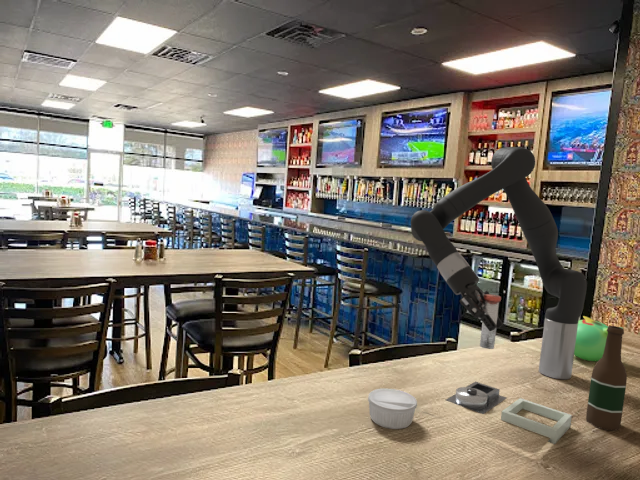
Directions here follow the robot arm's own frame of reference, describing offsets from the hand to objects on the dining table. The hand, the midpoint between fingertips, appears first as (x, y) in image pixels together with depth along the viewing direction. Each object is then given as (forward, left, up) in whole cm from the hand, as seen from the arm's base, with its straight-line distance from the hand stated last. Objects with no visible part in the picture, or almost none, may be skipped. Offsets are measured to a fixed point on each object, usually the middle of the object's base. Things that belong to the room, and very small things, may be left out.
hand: (496, 327), depth 123 cm
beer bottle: (-11, +24, -20) cm, 33 cm away
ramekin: (+29, -11, -20) cm, 37 cm away
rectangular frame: (+4, +13, -20) cm, 24 cm away
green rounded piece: (-67, +9, -20) cm, 70 cm away
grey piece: (+3, -2, -20) cm, 20 cm away
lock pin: (0, -2, -6) cm, 6 cm away
